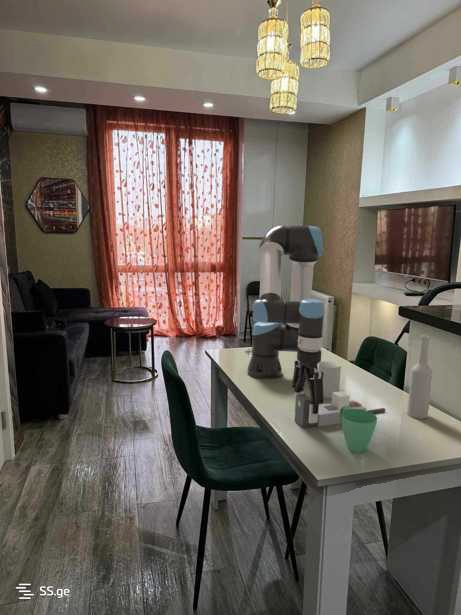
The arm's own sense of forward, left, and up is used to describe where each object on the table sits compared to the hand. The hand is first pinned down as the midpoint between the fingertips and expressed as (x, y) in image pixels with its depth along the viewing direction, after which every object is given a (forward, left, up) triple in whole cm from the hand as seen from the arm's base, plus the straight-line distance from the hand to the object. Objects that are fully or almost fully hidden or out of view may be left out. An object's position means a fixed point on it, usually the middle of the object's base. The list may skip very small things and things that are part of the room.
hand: (305, 416), depth 137 cm
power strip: (0, +18, -2) cm, 18 cm away
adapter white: (0, +13, +2) cm, 13 cm away
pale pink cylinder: (-20, +22, -3) cm, 30 cm away
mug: (+17, +6, -3) cm, 18 cm away
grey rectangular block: (0, +2, -2) cm, 3 cm away
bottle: (+6, +41, -3) cm, 41 cm away
